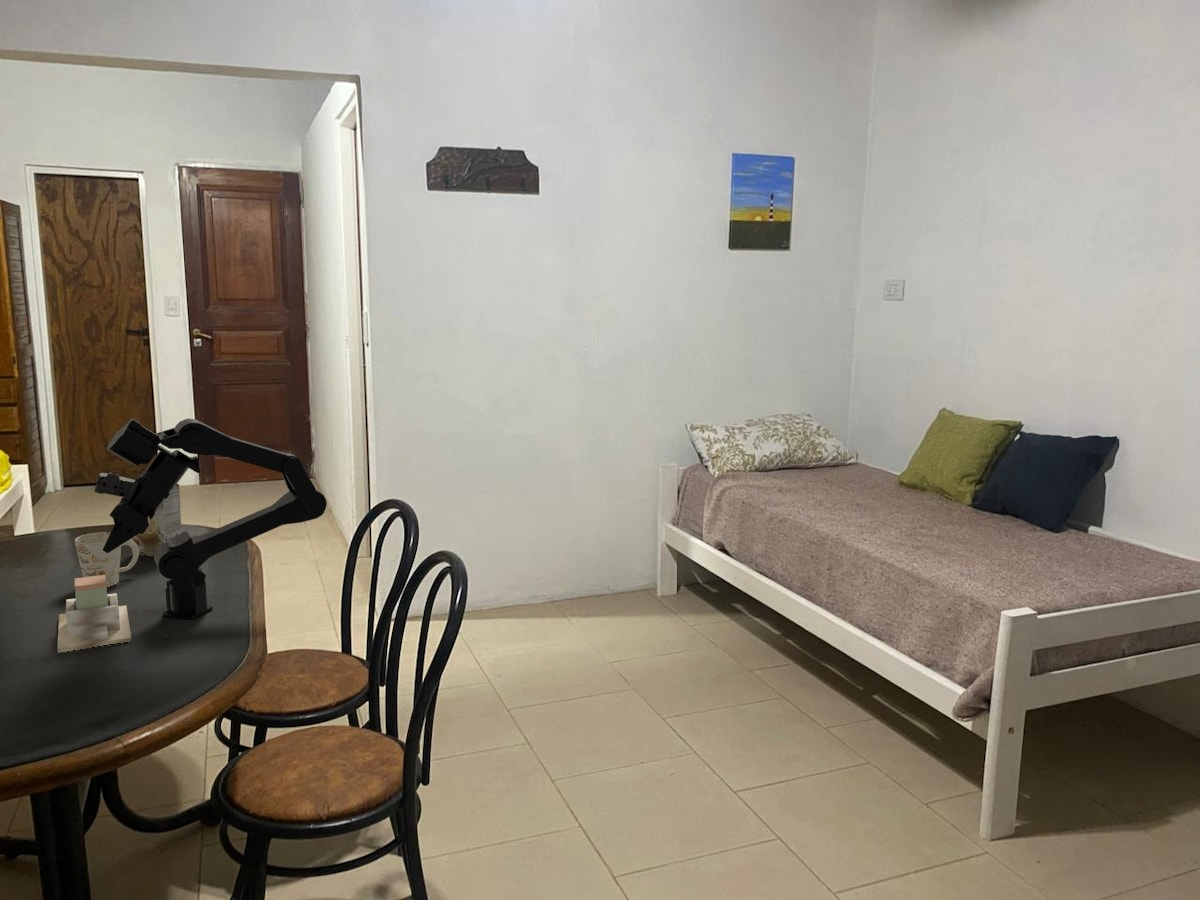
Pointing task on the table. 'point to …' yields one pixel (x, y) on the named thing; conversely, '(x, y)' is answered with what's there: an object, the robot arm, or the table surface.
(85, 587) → the block
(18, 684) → the table surface
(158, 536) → the coffee box
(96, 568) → the mug
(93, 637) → the card holder
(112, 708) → the table surface
